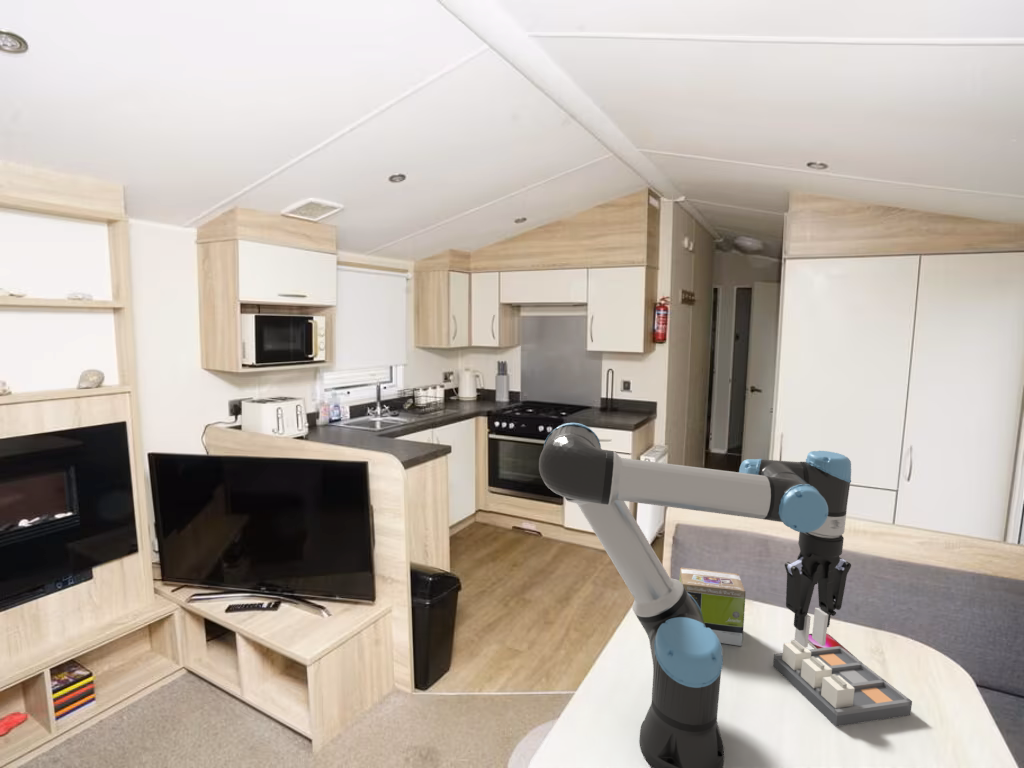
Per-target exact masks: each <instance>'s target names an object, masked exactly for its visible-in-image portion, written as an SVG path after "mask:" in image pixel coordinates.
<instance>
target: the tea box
mask: <svg viewBox="0 0 1024 768" xmlns="http://www.w3.org/2000/svg"><path fill="white" fill-rule="evenodd" d="M678 580H679V581H680V582H681V583H682V584H683V586H684V588H685V589H686V591H687V592H688V593H689V594H690V595H691V596H692V597H693V598H694V600H695V601H696V602H697V604H698V605H699V607H700V609H701V612H702V616H703V620H704V623H705V626H706V628H710V629H711V630H712V631H713V632H714V633H715V634H716V635H717V637H718V639H719V641H720V643H721V644H725V645H731V646H732V645H733V646H739V647H742V646H743V641H744V638H743V637H744V626H745V625H744V623H745V611H746V610H745V609H746V608H745V607H746V593H747V592H746V590H745V587H744V584H743V582H742V579H741V577H740V574H739V573H735V572H734V573H733V572H723V571H714V570H707V569H698V568H689V567H688V568H686V567H680V569H679V579H678Z"/></svg>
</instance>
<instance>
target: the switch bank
mask: <svg viewBox="0 0 1024 768" xmlns="http://www.w3.org/2000/svg"><path fill="white" fill-rule="evenodd" d="M809 650H810V651H811V656H814V657H815V658H819V659H820V660H821V661H823V662H824V663H825V664H826V665H827V666H829V667H830V668H831V669H832V674H835V675H836V676H838V675H839V676H841V677H842V678H843V679H844V680H845V681H847V682H848V683H849V684H850V685H851V686H853V687H854V688H855V690H854V698H853V706H850V707H843V708H835V707H833V706H832V705H831V704H830V703H829V702H828V701H827V700H826V699H825V698H824V697H823V696H822V695H821V690H822V688H813V687H812V686H811V685H810V684H808V683H807V682H806V681H805V680H804V679H803V678H802V677H801V670H793V669H792V668H791V667H790V666H789V665H788V664H787V663H786V662H784V661H783V660H782V655H783V652H777V653H774V654H773V662H772V667H773V668H774V669H775V670H776V671H777V672H778V673H779V674H780V675H782V677H783V678H784V679H785V680H786V681H787V682H789V684H791V685H792V686H793V687H794V688H795V689H796V690H797V691H798V692H799V693H800V694H801V695H802V696H804V698H805V699H806V700H807V701H809V702H810V704H811V705H813V706H814V707H815V708H816V709H817V710H818V711H819V712H820V713H821V714H822V715H823V716H824V717H825V718H826V719H827V720H828V721H829V722H830V723H831V724H832V725H833V726H835V727H836V728H837V727H843V726H848V725H849V726H851V725H858V724H862V723H868V722H875V721H883V720H889V719H895V718H903V717H909V716H911V713H912V705H913V701H912V700H911V699H910V698H909V697H907V695H905V694H903V693H902V692H901V691H899V690H898V689H896V688H895V687H894V686H893V685H892V684H891V683H889V682H888V681H887V680H885V679H884V678H883V677H882V676H880V675H878V674H877V673H876V672H875V671H873V670H872V669H871V668H869V667H868V666H867V665H865V664H864V663H863V662H862V661H861V660H860V661H861V662H860V661H859V659H858V658H857V657H856V656H855V655H854V654H853V655H854V656H855V657H856V658H857V659H856V658H855V657H854V656H853V655H851V654H852V653H851V652H850V651H849V652H850V653H851V654H850V653H849V652H847V651H846V650H845V649H843V648H842V647H841V646H836V647H828V648H819V649H814V648H813V649H809Z"/></svg>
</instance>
